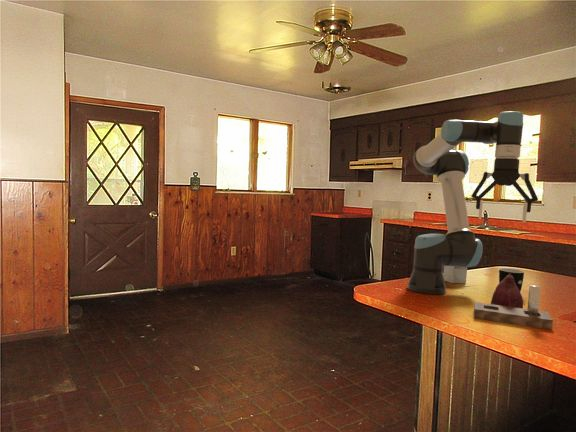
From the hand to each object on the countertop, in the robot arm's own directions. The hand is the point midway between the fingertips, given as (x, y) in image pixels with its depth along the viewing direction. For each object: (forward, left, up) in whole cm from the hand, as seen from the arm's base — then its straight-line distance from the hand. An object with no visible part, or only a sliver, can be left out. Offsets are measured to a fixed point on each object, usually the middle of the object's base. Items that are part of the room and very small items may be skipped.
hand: (501, 220), depth 144 cm
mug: (+8, +33, -32) cm, 47 cm away
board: (+5, -7, -32) cm, 33 cm away
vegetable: (+4, +7, -32) cm, 33 cm away
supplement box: (-14, +45, -32) cm, 57 cm away
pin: (+11, -7, -32) cm, 35 cm away
